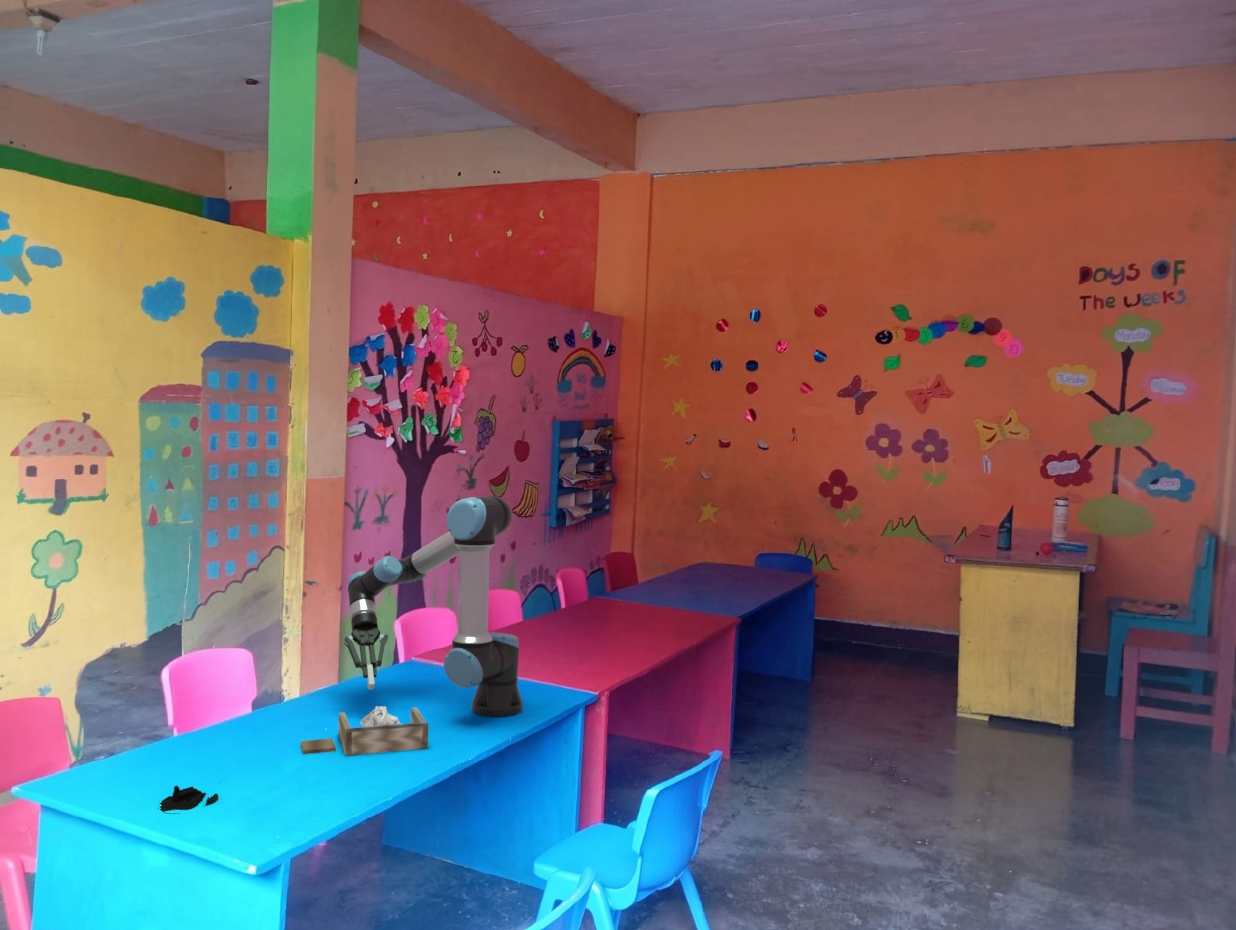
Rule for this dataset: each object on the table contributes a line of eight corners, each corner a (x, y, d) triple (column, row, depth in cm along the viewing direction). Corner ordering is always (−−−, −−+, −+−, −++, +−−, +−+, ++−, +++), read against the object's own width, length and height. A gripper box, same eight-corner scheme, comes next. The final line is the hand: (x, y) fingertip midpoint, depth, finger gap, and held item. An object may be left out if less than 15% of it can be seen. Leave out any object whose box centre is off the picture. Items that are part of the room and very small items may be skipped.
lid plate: (331, 743, 263) (332, 738, 263) (335, 753, 256) (335, 747, 256) (300, 746, 260) (300, 740, 260) (303, 756, 253) (303, 750, 253)
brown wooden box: (415, 728, 277) (416, 704, 277) (427, 748, 261) (428, 722, 260) (338, 734, 269) (339, 710, 269) (345, 755, 253) (346, 729, 253)
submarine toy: (173, 819, 211) (174, 796, 210) (147, 808, 216) (147, 786, 216) (223, 803, 221) (224, 781, 221) (196, 793, 226) (197, 771, 226)
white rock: (408, 734, 262) (382, 710, 260) (384, 759, 261) (357, 735, 259) (408, 721, 274) (383, 698, 272) (385, 745, 272) (359, 722, 271)
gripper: (384, 624, 303) (392, 691, 288) (340, 626, 298) (346, 695, 283) (387, 610, 298) (396, 677, 283) (342, 612, 293) (349, 681, 278)
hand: (371, 686), depth 283 cm, fingers closed
